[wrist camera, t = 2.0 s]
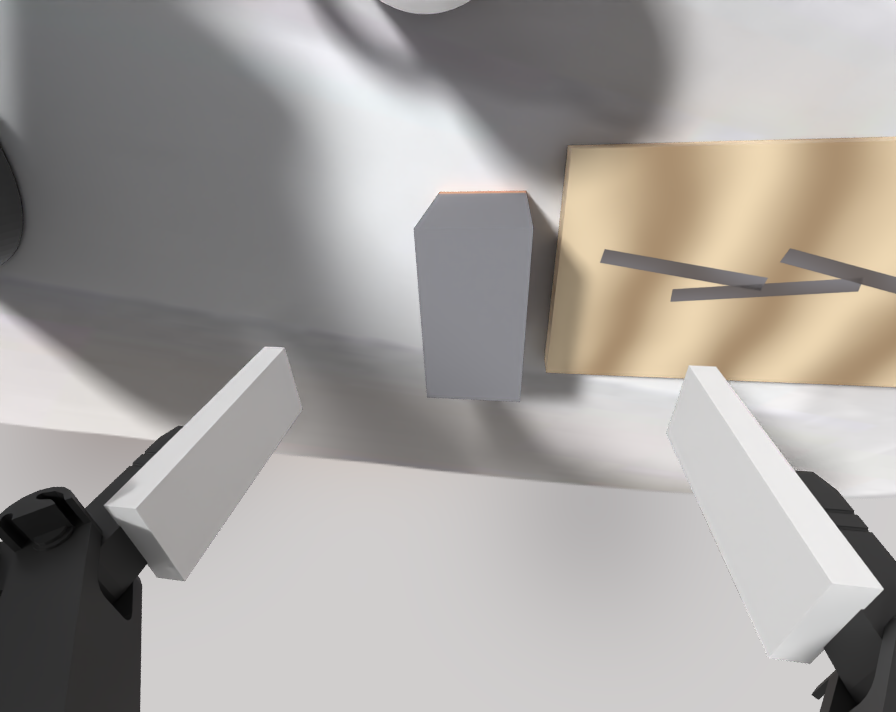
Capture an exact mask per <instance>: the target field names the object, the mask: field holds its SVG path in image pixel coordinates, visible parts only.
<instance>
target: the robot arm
mask: <svg viewBox="0 0 896 712" xmlns="http://www.w3.org/2000/svg"><path fill="white" fill-rule="evenodd" d="M22 229H23V213H22V205H21V200H20V195H19V191H18V188H17V184H16V181H15V179H14V176H13V173H12V171H11V168H10V166H9V163H8V161H7V159H6V157H5V155H4V153H3V151H2V149H1V147H0V265H1V264H3V263H4V262H6V261H7V260H8V259H9V258H10V257H11V256H12V255H13V254H14V252H15V251H16V249H17V247H18V245H19V242H20V239H21V235H22ZM302 410H303V408H302V405H301V401H300V398H299V394H298V391H297V387H296V384H295V381H294V377H293V374H292V370H291V367H290V363H289V360H288V356H287V353H286V349H285V347H264V348H263V349H262V350H261V351H260V352H259V353H258V354H257V355H255V356H254V357H253V358H252V359H251V360H250V361H249V362H248V363H247V364H246V365H245V366H244V367H243V368H242V369H241V370H240V371H239V372H238V373H237V374H236V375H235V376H234V377H233V378H232V379H231V380H230V381H229V382H228V383H227V384H226V385H225V386H224V387H223V388H222V389H221V390H220V391H219V392H218V393H217V394H216V395H215V396H214V397H213V398H212V399H211V400H210V401H209V402H208V403H207V404H206V405H205V406H204V407H203V408H202V409H201V410H200V411H199V412H198V413H197V414H196V415H195V416H194V417H193V418H192V419H191V420H190V421H189V422H188V423H187V424H186V425H185V426H177V427H176V428H174V429H173V430H171V431H169V432H168V433H166V434H164V435H163V436H161V437H160V438H158V439H157V440H156V441H155V442H154V443H153V444H152V445H151V446H150V447H149V448H148V449H147V450H146V451H145V454H142V455H141V456H140V457H139V458H137V459H136V460H135V461H134V462H133V465H132V466H129V467H128V468H127V469H126V470H125V471H124V472H123V473H122V474H121V475H120V476H119V477H117V479H115V480H114V482H112V483H111V484H110V485H109V486H108V487H107V488H106V489H105V490H104V491H103V492H102V493H101V494H100V495H99V496H98V497H96V498H95V499H94V500H93V501H92V502H91V503H90V504H89V505H88V506H87V507H86V508H84V507H83V506H82V504H81V503H80V502H79V501H78V499H77V498H76V497H75V495H74V494H73V493H72V492H71V491H70V490H69V489H67V488H65V487H51V488H47V489H43V490H39V491H37V492H34V493H32V494H30V495H28V496H25V497H23V498H22V499H20V500H18V501H17V502H15V503H14V504H12V505H11V506H9V507H8V508H7V509H5V510H4V511H3V512H2V513H1V514H0V538H1V539H2V540H3V541H2V542H0V712H140V685H141V679H140V678H141V619H142V616H141V615H142V584H141V580H140V578H139V577H138V575H139V573H140V572H141V571H142V569H143V568H144V567H145V565H147V564H148V566H149V567H150V568H151V570H152V571H153V572H154V574H155V575H156V576H157V577H158V578H165V579H172V580H180V581H185V580H186V579H187V578H188V576H189V575H190V573H191V572H192V570H193V569H194V567H195V566H196V564H197V563H198V561H199V560H200V559H201V557H202V556H203V554H204V553H205V551H206V550H207V548H208V547H209V545H210V544H211V542H212V541H213V540H214V538H215V537H216V535H217V533H218V532H219V531H220V529H221V528H222V526H223V525H224V523H225V522H226V521H227V519H228V518H229V516H230V515H231V513H232V512H233V510H234V509H235V507H236V506H237V504H238V503H239V502H240V500H241V499H242V497H243V496H244V494H245V493H246V491H247V490H248V488H249V487H250V485H251V484H252V483H253V481H254V480H255V478H256V477H257V475H258V474H259V472H260V471H261V469H262V468H263V467H264V465H265V464H266V462H267V460H268V459H269V458H270V456H271V455H272V453H273V452H274V450H275V449H276V448H277V446H278V445H279V443H280V442H281V440H282V439H283V437H284V436H285V434H286V433H287V431H288V430H289V429H290V427H291V426H292V424H293V423H294V421H295V420H296V418H297V417H298V415H299V414H300V412H301V411H302ZM666 434H667V436H668V438H669V441H670V443H671V445H672V447H673V449H674V452H675V454H676V456H677V458H678V460H679V463H680V465H681V467H682V469H683V471H684V474H685V476H686V478H687V480H688V482H689V485H690V487H691V489H692V491H693V493H694V496H695V498H696V500H697V502H698V504H699V506H700V509H701V511H702V513H703V515H704V518H705V520H706V522H707V524H708V526H709V528H710V531H711V533H712V535H713V537H714V540H715V542H716V544H717V546H718V548H719V551H720V553H721V555H722V557H723V559H724V561H725V564H726V566H727V568H728V570H729V573H730V575H731V577H732V579H733V581H734V584H735V586H736V588H737V590H738V592H739V595H740V597H741V599H742V601H743V603H744V605H745V608H746V610H747V612H748V614H749V617H750V619H751V621H752V623H753V625H754V628H755V630H756V632H757V634H758V636H759V638H760V640H761V643H762V645H763V647H764V650H765V652H766V654H767V656H768V658H772V659H779V660H786V661H794V662H801V663H809V664H810V663H811V662H812V661H813V660H814V659H815V658H816V657H817V656H818V655H819V654H820V653H821V652H822V651H823V650H824V649H825V651H826V653H827V655H828V657H829V658H830V660H831V662H832V664H833V665H834V667H835V669H836V670H835V671H834V672H833V673H832V674H831V675H830V676H829V677H828V678H826V679H825V680H824V681H823V682H822V683H821V684H820V685H819V686H818V687H817V688H816V689H815V691H814V692H813V694H812V695H813V696H814V697H815V698H817V699H820V698H821V697H822V696H823V695H824V694H825V695H824V698H823V702H822V706H821V709H820V712H896V561H895V560H894V558H893V557H892V556H891V555H890V554H889V552H888V551H887V550H886V549H885V548H884V546H883V545H882V544H881V543H880V542H879V540H878V539H877V538H876V537H875V535H874V534H873V533H872V532H869V531H868V527H867V526H866V525H865V524H864V522H863V521H862V520H861V519H860V518H859V516H858V515H855V514H854V510H853V509H852V508H851V507H850V505H849V504H848V503H847V502H846V500H845V499H844V498H843V497H842V496H841V494H840V493H839V492H838V491H837V490H836V489H835V488H834V487H832V486H831V485H830V484H828V483H827V482H826V481H824V480H823V479H822V478H820V477H819V476H818V475H816V474H815V473H814V472H807V471H794V469H793V468H792V467H791V465H790V464H789V463H788V461H787V460H786V459H785V457H784V456H783V455H782V453H781V452H780V451H779V449H778V448H777V447H776V445H775V444H774V443H773V441H772V440H771V439H770V437H769V436H768V435H767V433H766V432H765V431H764V430H763V428H762V427H761V426H760V424H759V423H758V422H757V420H756V419H755V418H754V416H753V415H752V414H751V412H750V411H749V410H748V408H747V407H746V406H745V404H744V403H743V402H742V400H741V399H740V398H739V396H738V395H737V394H736V392H735V391H734V390H733V388H732V387H731V386H730V384H729V383H728V382H727V381H726V379H725V378H724V377H723V375H722V374H721V373H720V371H719V370H718V369H717V367H714V366H692V365H689V366H688V369H687V372H686V375H685V378H684V381H683V384H682V387H681V390H680V393H679V396H678V399H677V402H676V405H675V408H674V411H673V414H672V417H671V420H670V423H669V426H668V429H667V432H666Z"/></svg>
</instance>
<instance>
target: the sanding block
mask: <svg viewBox="0 0 896 712" xmlns="http://www.w3.org/2000/svg"><path fill="white" fill-rule="evenodd" d="M414 239H415V251H416V264H417V276H418V289H419V301H420V314H421V326H422V339H423V351H424V364H425V376H426V389H427V397H431V398H451V399H471V400H491V401H511V402H520V396H521V383H522V370H523V357H524V344H525V331H526V318H527V305H528V292H529V279H530V266H531V253H532V240H533V224H532V219H531V214H530V208H529V203H528V198H527V193H526V191H474V192H439V194H438V195H437V196H436V198H435V199H434V201H433V202H432V204H431V205H430V206H429V208H428V209H427V211H426V212H425V214H424V215H423V216H422V218H421V219H420V221H419V222H418V223H417V225H416V226H415V228H414Z"/></svg>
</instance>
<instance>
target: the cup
mask: <svg viewBox="0 0 896 712" xmlns="http://www.w3.org/2000/svg"><path fill="white" fill-rule="evenodd" d="M380 1H381V2H383V3H385V4H387V5H389V6H391V7H393V8H396V9H398V10H402V11H405V12H409V13H414V14H436V13H441V12H446V11H449V10H452V9H455V8H457V7H459V6H461V5H463V4H465V3H467V2H469V1H470V0H380Z"/></svg>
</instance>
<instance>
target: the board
mask: <svg viewBox="0 0 896 712" xmlns="http://www.w3.org/2000/svg"><path fill="white" fill-rule="evenodd" d="M544 360H545V368H546V373H565V374H590V375H614V376H638V377H663V378H685V375H686V372H687V369H688V366H689V365H692V366H714V367H717V369H718V370H719V371H720V373H721V374H722V375H723V377H724V378H725V379H726V380H736V381H760V382H784V383H809V384H833V385H857V386H882V387H896V137H868V138H830V139H792V140H754V141H716V142H678V143H640V144H602V145H568V149H567V158H566V167H565V176H564V185H563V194H562V203H561V212H560V222H559V231H558V240H557V249H556V258H555V267H554V276H553V285H552V294H551V303H550V312H549V321H548V330H547V339H546V348H545V357H544Z"/></svg>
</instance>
